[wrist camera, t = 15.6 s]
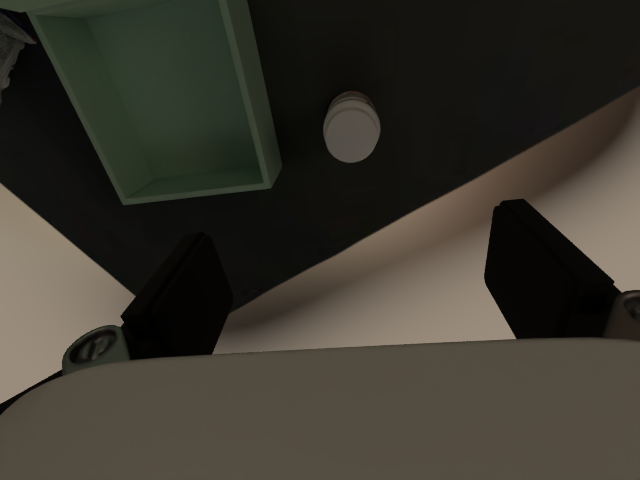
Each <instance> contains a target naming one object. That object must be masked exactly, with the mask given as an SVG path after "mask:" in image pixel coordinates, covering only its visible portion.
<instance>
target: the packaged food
mask: <svg viewBox="0 0 640 480" xmlns="http://www.w3.org/2000/svg"><path fill="white" fill-rule="evenodd" d="M25 42H26V43H29V44H33V43H34V44H36V40H35V39H34V35H33V34H32V33H31V32H30V31H29V29H28V28H27V27H26V26H25V25H24V24H23V23H22V22H21V21H19V20H18V19H17V18H16V17H15V16H14V15H13V14H12V13H11V12H9V11H8V10H7V9H3V8H0V105H1V103H2V99H1V91H2V90H3V89H4V88H7V87H8V86H9V81H10V78H9V77H8V76H9V74H10V73H11V70H13V68H14V67H15V63H16V61H17V57H18V53H19V51H20V50H22V49H24V46H25Z"/></svg>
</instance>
